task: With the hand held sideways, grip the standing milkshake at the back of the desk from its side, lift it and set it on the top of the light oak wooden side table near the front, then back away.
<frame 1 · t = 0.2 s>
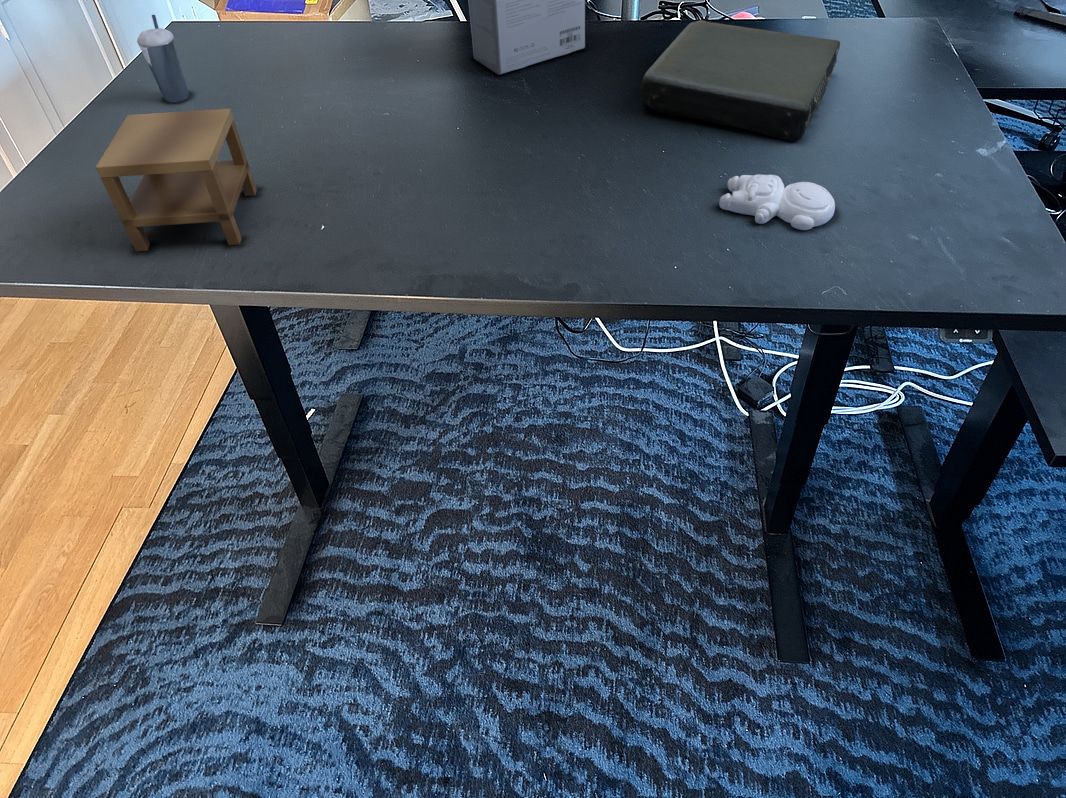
milkshake: (178, 97, 108), on the table
wooden side table: (199, 219, 86), on the table
network switch: (737, 95, 104), on the table
hard drive box: (529, 55, 115), on the table
astronaut figurine: (774, 207, 85), on the table
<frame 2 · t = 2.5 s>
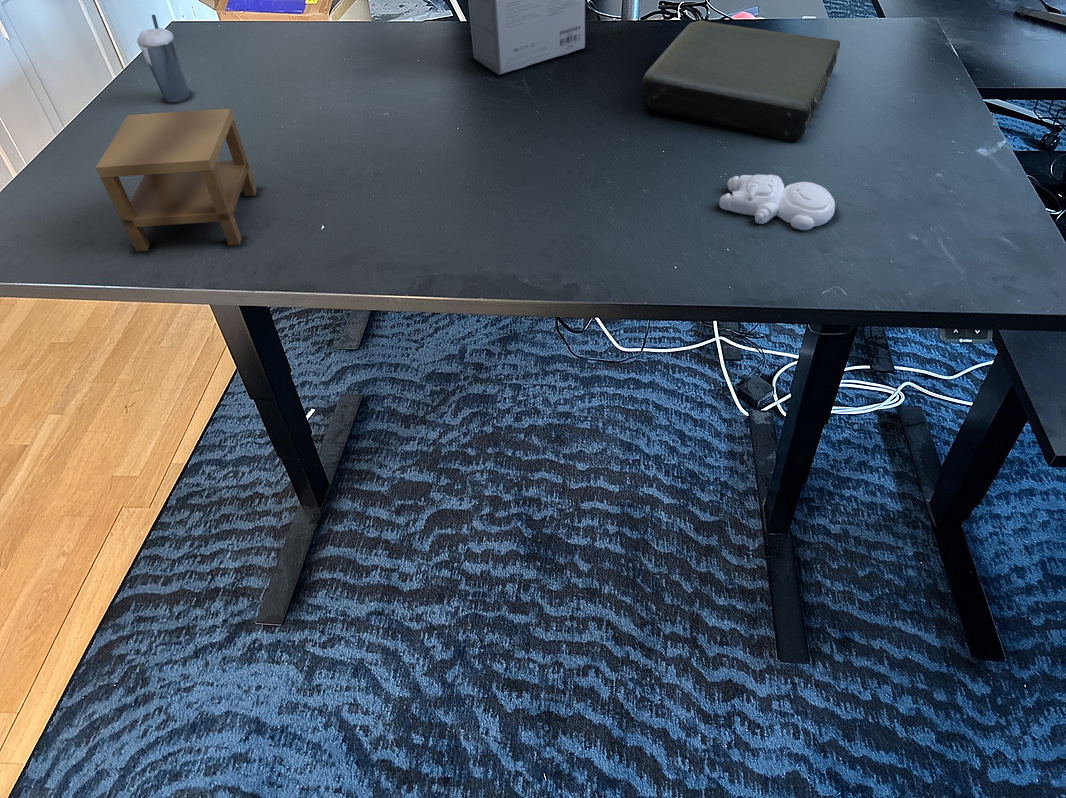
nothing on the table moved.
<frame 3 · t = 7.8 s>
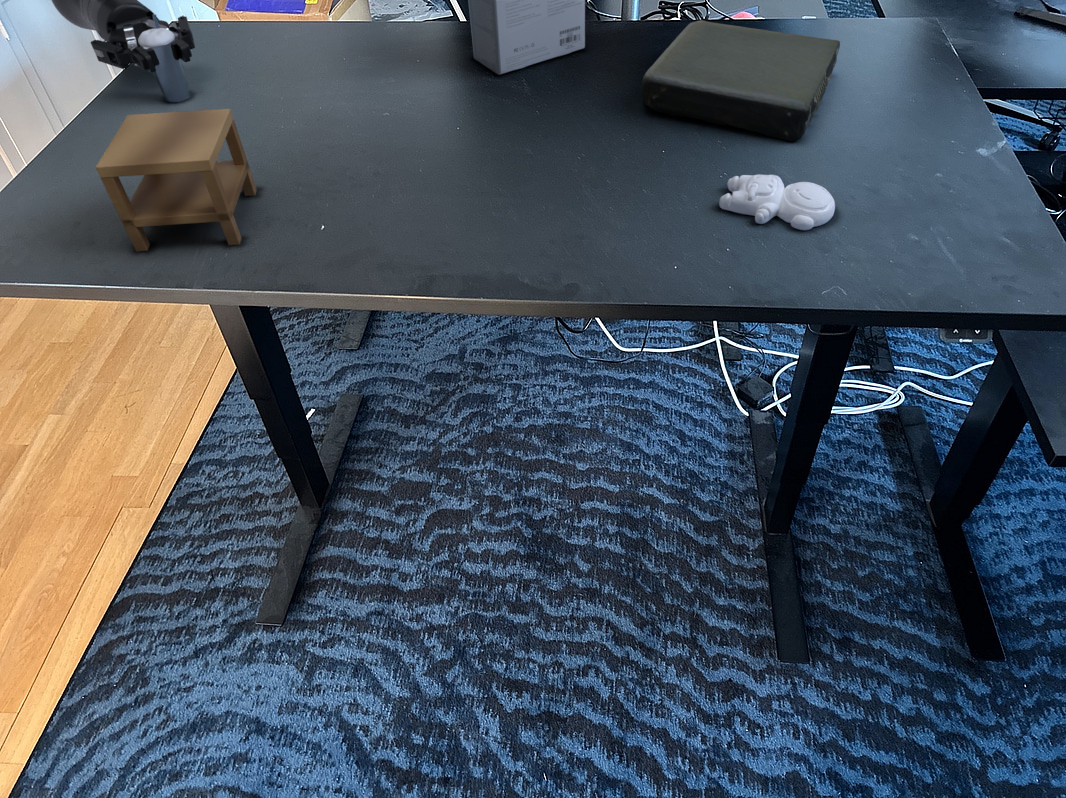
hand: (168, 59, 102), 6 cm above the table, tool horizontal, fingers closed on milkshake, 4 cm apart
milkshake: (178, 97, 108), on the table, touching gripper
everything else where it was.
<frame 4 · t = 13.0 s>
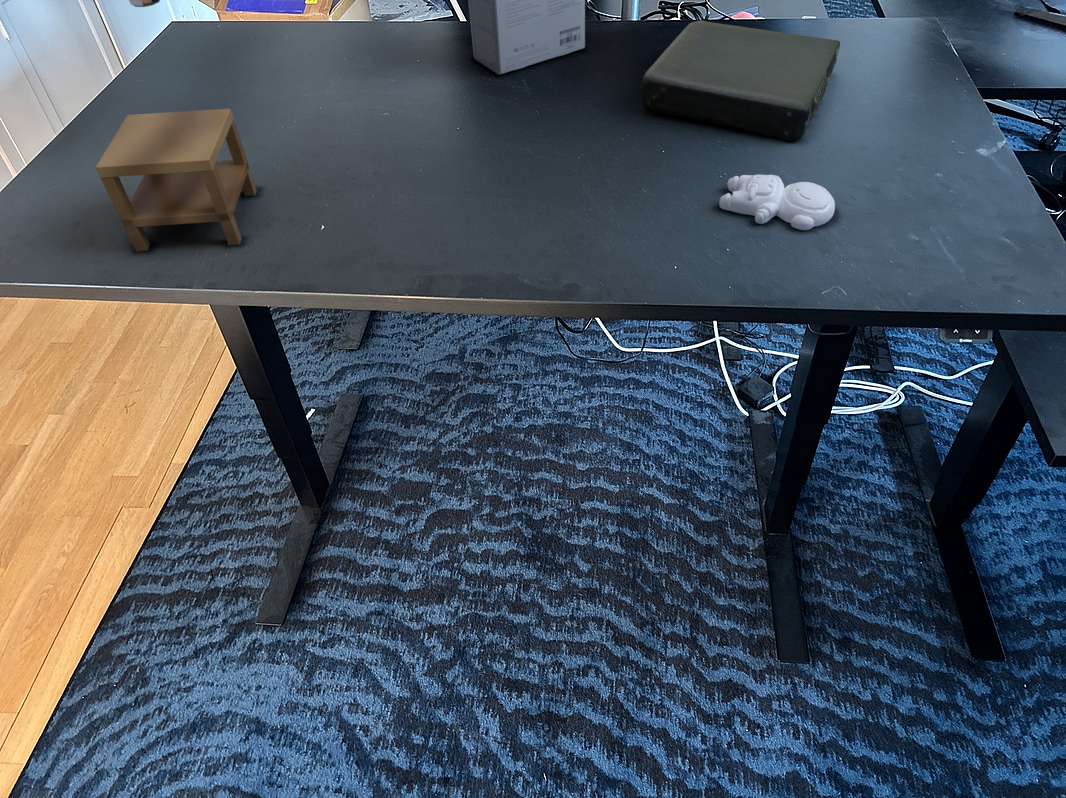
milkshake: (149, 2, 88), point 16 cm above the table, touching gripper
everything else where it was.
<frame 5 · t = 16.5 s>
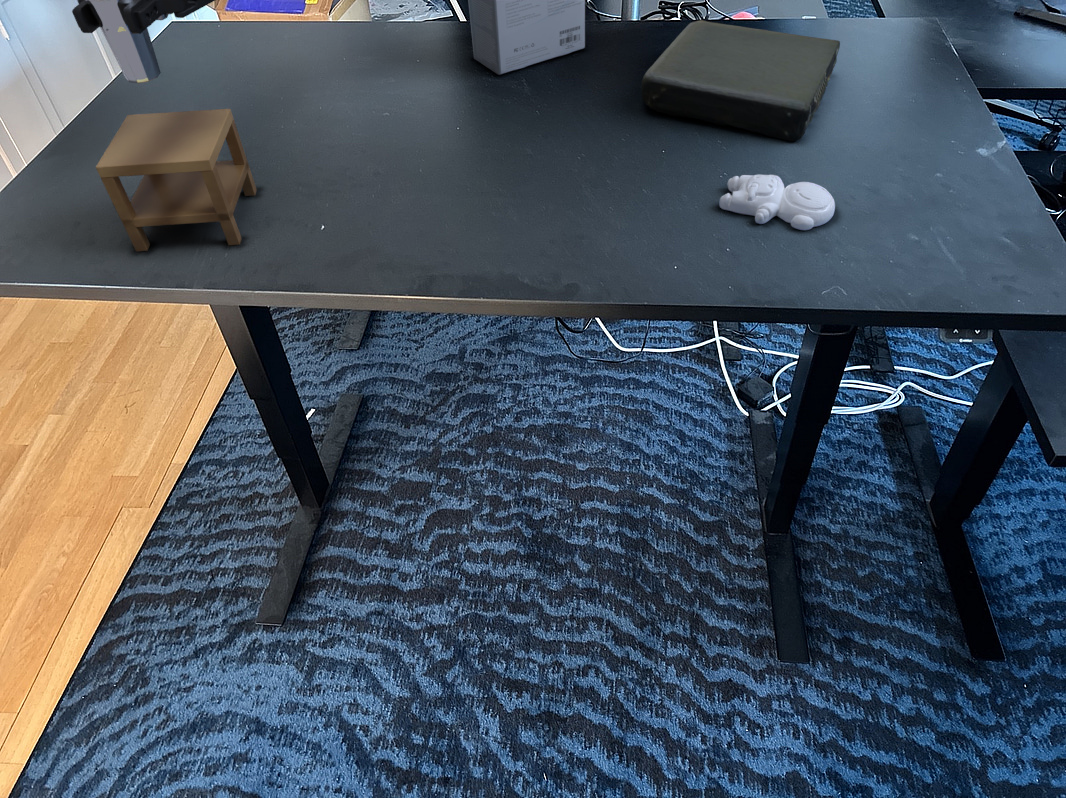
hand: (106, 22, 70), 22 cm above the table, tool horizontal, fingers closed on milkshake, 4 cm apart
milkshake: (147, 76, 76), point 15 cm above the table, touching gripper
everything else where it was.
when the fingers open (16 cm above the table, at t = 18.7 s): milkshake moves 3 cm, point 10 cm above the table.
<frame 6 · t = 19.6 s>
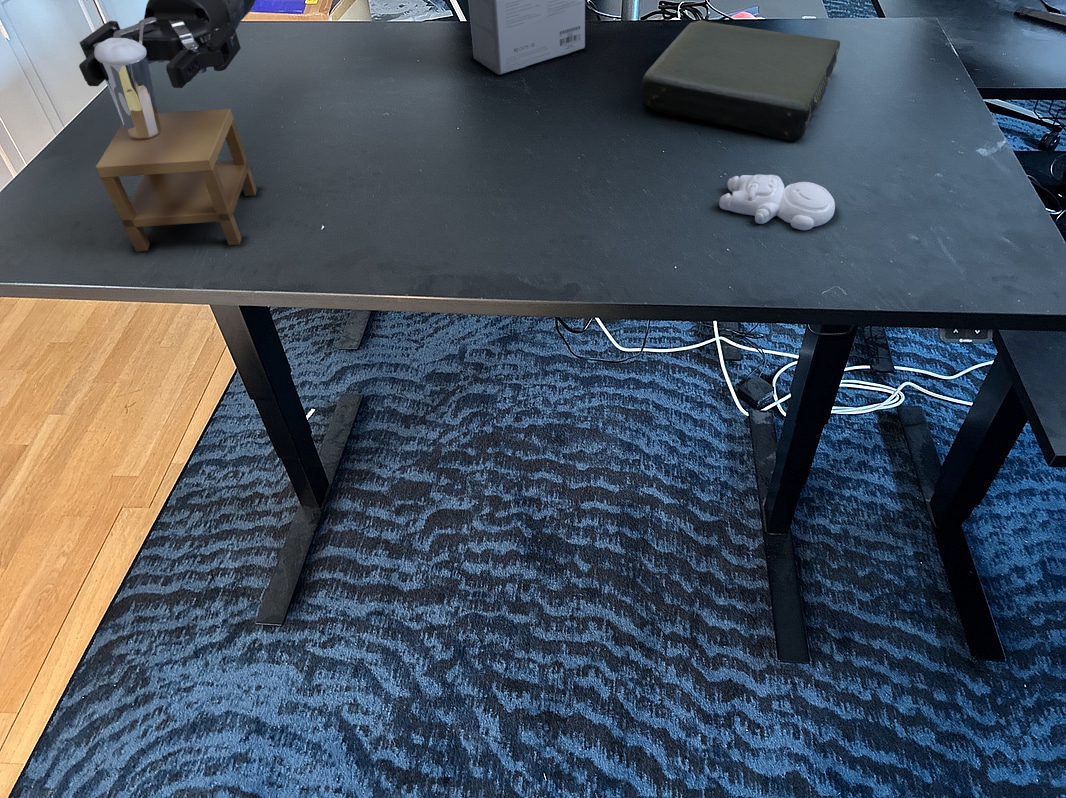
hand: (130, 77, 73), 17 cm above the table, tool horizontal, fingers open, 8 cm apart
milkshake: (147, 131, 80), point 10 cm above the table, touching gripper
everything else where it was.
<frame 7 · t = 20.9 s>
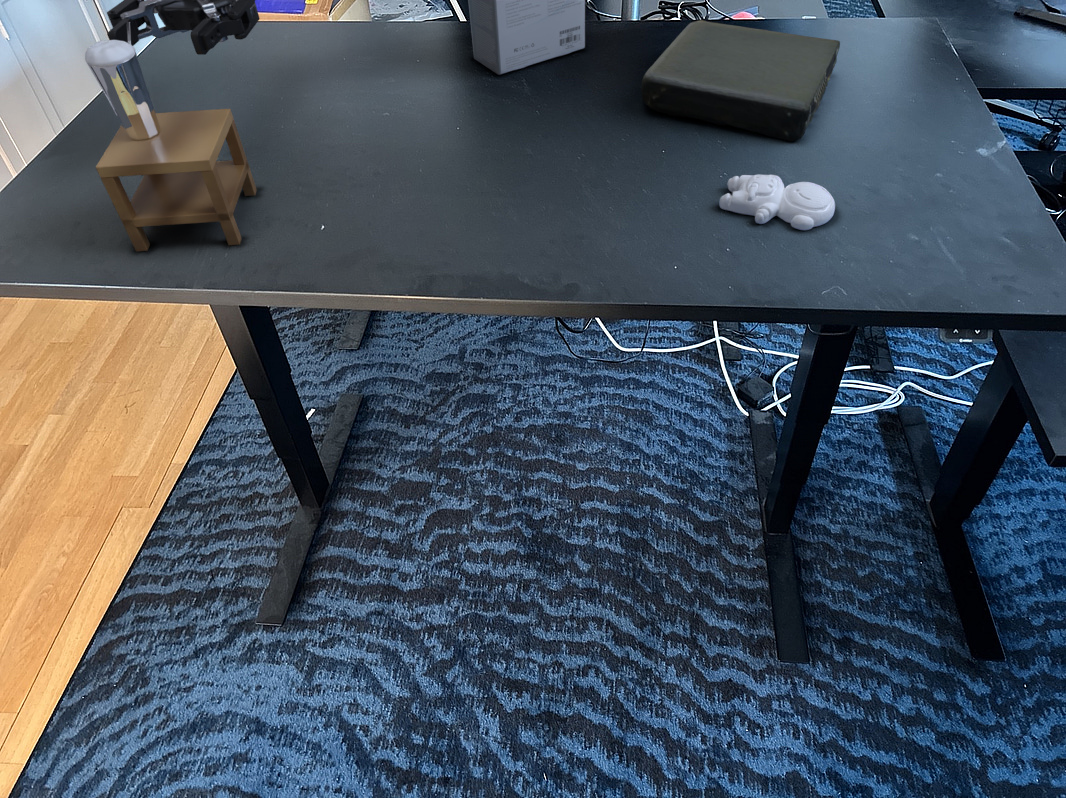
hand: (155, 44, 76), 18 cm above the table, tool horizontal, fingers open, 8 cm apart
milkshake: (148, 132, 80), point 10 cm above the table, touching wooden side table
everything else where it was.
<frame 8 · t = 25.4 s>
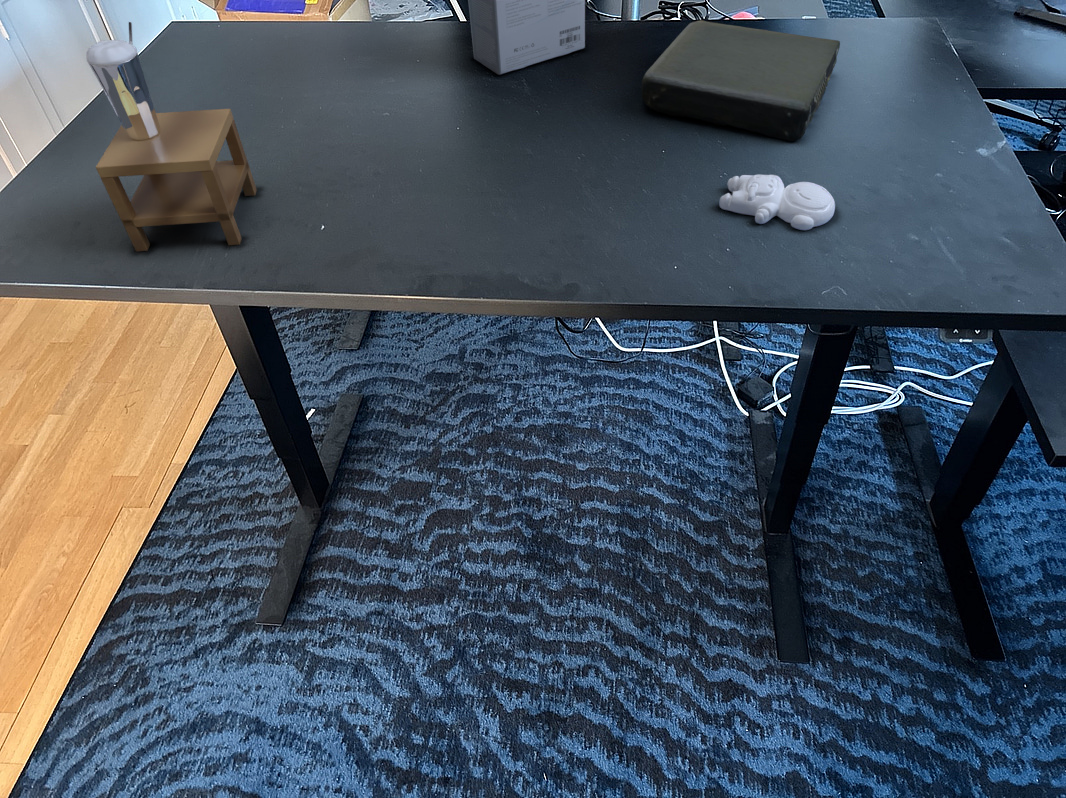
nothing on the table moved.
at the end: milkshake inside the target area on the wooden side table (2.6 cm from its centre), point 9.8 cm above the wooden side table's base; milkshake tilted 0°; the gripper is holding nothing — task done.
